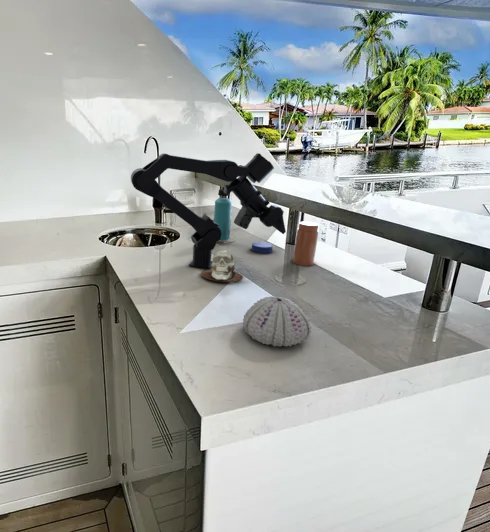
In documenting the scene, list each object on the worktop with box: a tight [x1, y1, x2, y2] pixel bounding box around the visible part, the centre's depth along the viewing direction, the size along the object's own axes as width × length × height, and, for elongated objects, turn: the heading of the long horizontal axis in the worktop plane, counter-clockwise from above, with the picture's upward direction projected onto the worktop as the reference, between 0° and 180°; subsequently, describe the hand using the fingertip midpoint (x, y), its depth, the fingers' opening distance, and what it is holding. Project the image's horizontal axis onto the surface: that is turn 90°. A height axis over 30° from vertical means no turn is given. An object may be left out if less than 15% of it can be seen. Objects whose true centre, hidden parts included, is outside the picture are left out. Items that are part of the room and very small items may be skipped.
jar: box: [292, 221, 320, 267], centre depth 122 cm, size 6×6×13 cm
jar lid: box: [251, 241, 274, 255], centre depth 135 cm, size 7×7×2 cm
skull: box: [200, 249, 244, 283], centre depth 109 cm, size 12×10×10 cm
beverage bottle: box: [212, 188, 233, 241], centre depth 142 cm, size 6×7×20 cm
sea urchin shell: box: [242, 296, 312, 348], centre depth 77 cm, size 13×14×8 cm
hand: (277, 229), depth 119 cm, fingers open, 9 cm apart
